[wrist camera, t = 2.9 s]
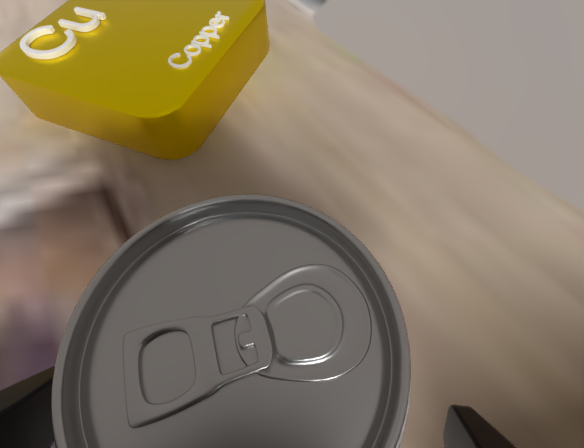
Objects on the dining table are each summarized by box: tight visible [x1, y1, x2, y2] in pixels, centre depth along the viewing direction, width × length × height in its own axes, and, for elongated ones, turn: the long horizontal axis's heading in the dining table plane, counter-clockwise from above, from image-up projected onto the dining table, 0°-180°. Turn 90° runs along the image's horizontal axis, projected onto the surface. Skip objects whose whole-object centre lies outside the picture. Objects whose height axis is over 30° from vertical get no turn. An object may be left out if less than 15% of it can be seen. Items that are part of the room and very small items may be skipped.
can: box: [51, 194, 411, 448], centre depth 11 cm, size 6×6×12 cm
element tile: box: [0, 0, 269, 160], centre depth 26 cm, size 15×15×5 cm
